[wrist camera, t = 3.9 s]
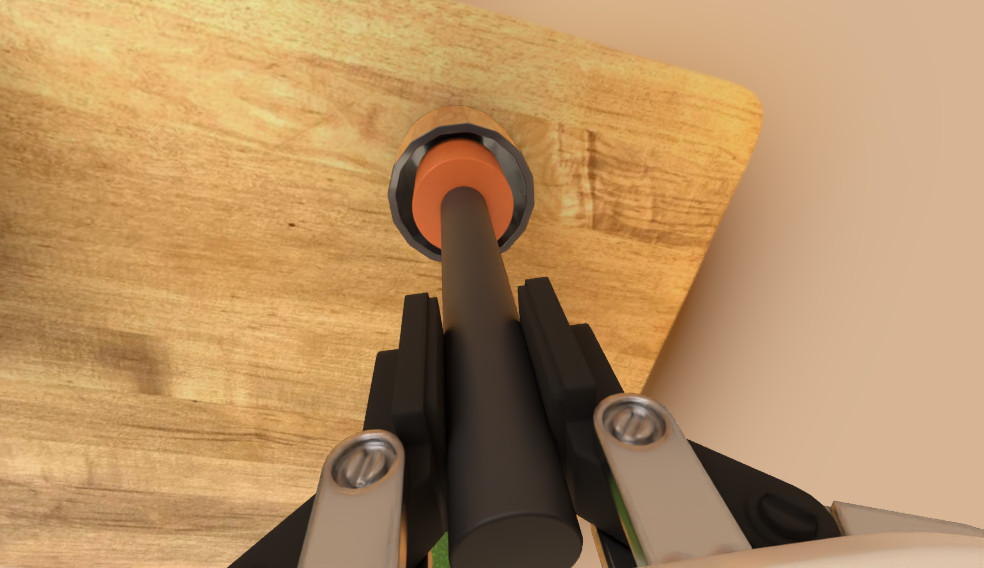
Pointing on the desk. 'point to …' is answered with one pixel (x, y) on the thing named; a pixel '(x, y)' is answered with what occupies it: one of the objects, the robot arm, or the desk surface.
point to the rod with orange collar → (489, 377)
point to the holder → (448, 126)
